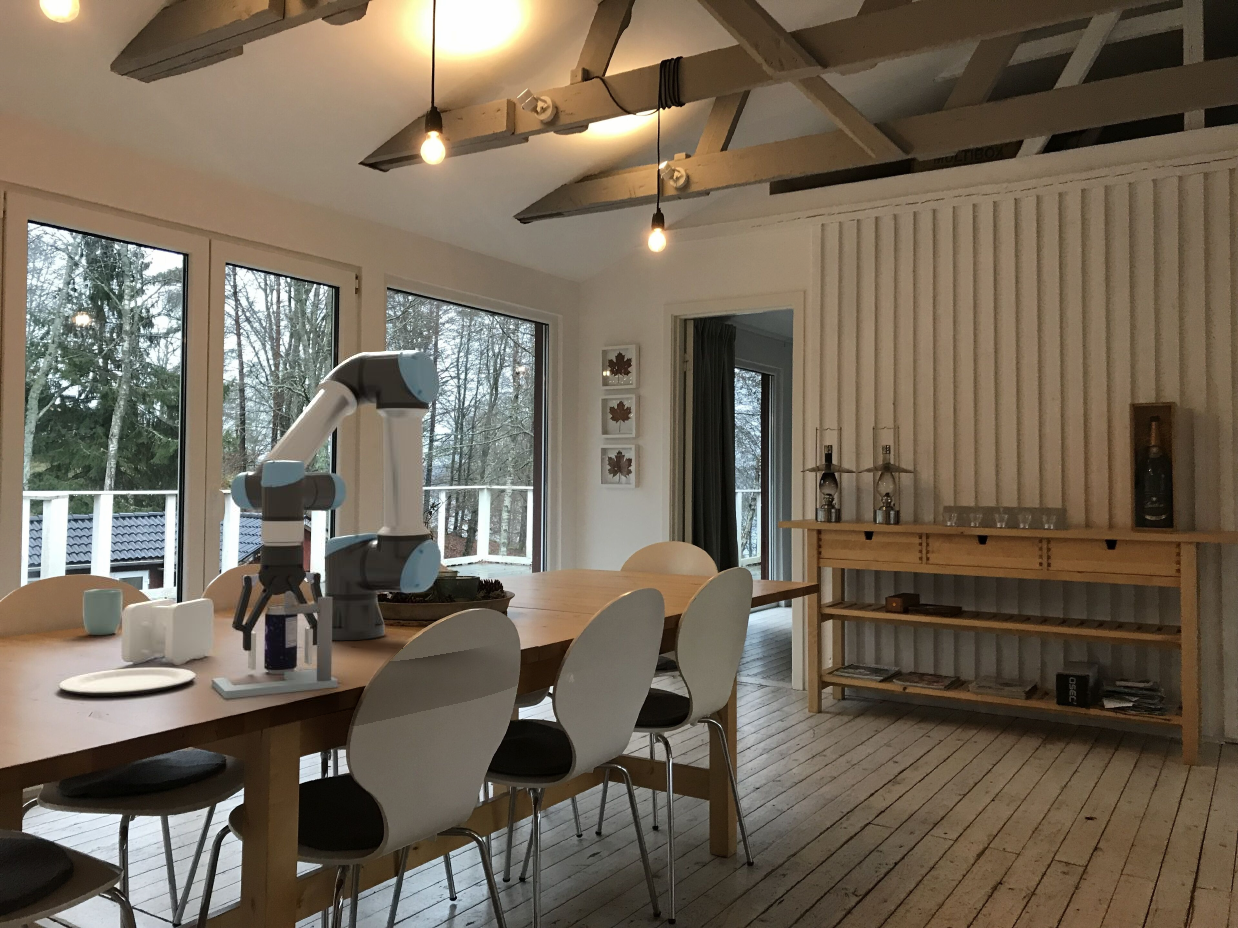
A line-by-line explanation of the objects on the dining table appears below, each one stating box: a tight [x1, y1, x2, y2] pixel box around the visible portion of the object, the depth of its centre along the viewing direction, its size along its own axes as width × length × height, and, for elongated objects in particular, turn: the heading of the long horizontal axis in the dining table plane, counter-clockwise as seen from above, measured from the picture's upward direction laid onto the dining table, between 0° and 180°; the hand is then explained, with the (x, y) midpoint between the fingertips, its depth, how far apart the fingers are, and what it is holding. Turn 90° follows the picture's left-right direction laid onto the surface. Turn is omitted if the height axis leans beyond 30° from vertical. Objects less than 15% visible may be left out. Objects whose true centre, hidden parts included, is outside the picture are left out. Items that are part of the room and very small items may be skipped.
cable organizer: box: [121, 598, 215, 666], centre depth 189 cm, size 15×11×12 cm
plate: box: [58, 667, 197, 697], centre depth 165 cm, size 21×21×2 cm
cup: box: [82, 588, 123, 636], centre depth 222 cm, size 8×8×10 cm
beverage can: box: [263, 604, 299, 675], centre depth 178 cm, size 6×6×12 cm
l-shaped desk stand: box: [211, 591, 339, 700], centre depth 165 cm, size 18×12×17 cm, turn 122°
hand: (280, 665), depth 178 cm, fingers open, 9 cm apart
